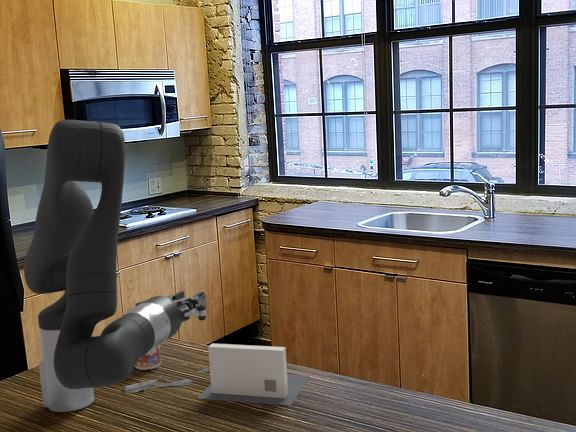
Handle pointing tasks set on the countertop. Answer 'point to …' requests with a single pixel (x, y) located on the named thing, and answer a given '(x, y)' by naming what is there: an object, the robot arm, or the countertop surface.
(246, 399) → the rubber mat
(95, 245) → the robot arm
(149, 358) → the pill bottle
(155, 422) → the countertop surface
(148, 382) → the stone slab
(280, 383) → the flat white box
